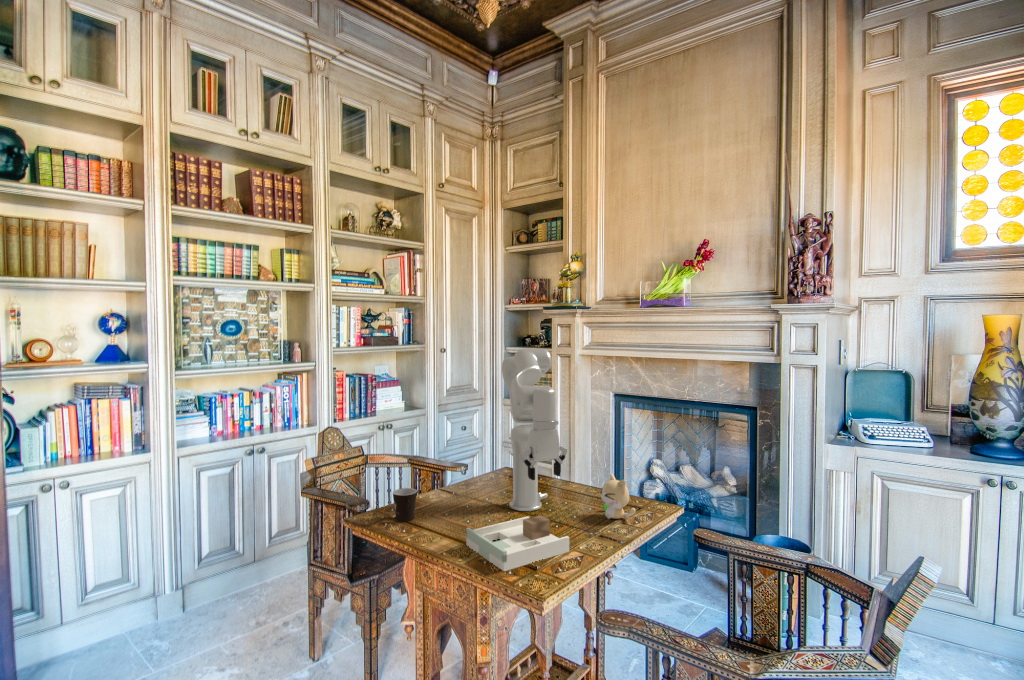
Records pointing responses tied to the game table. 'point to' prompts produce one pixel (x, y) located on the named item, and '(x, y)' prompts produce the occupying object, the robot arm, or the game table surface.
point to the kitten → (615, 498)
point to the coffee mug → (404, 504)
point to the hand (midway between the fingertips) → (544, 477)
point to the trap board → (513, 544)
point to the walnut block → (536, 527)
